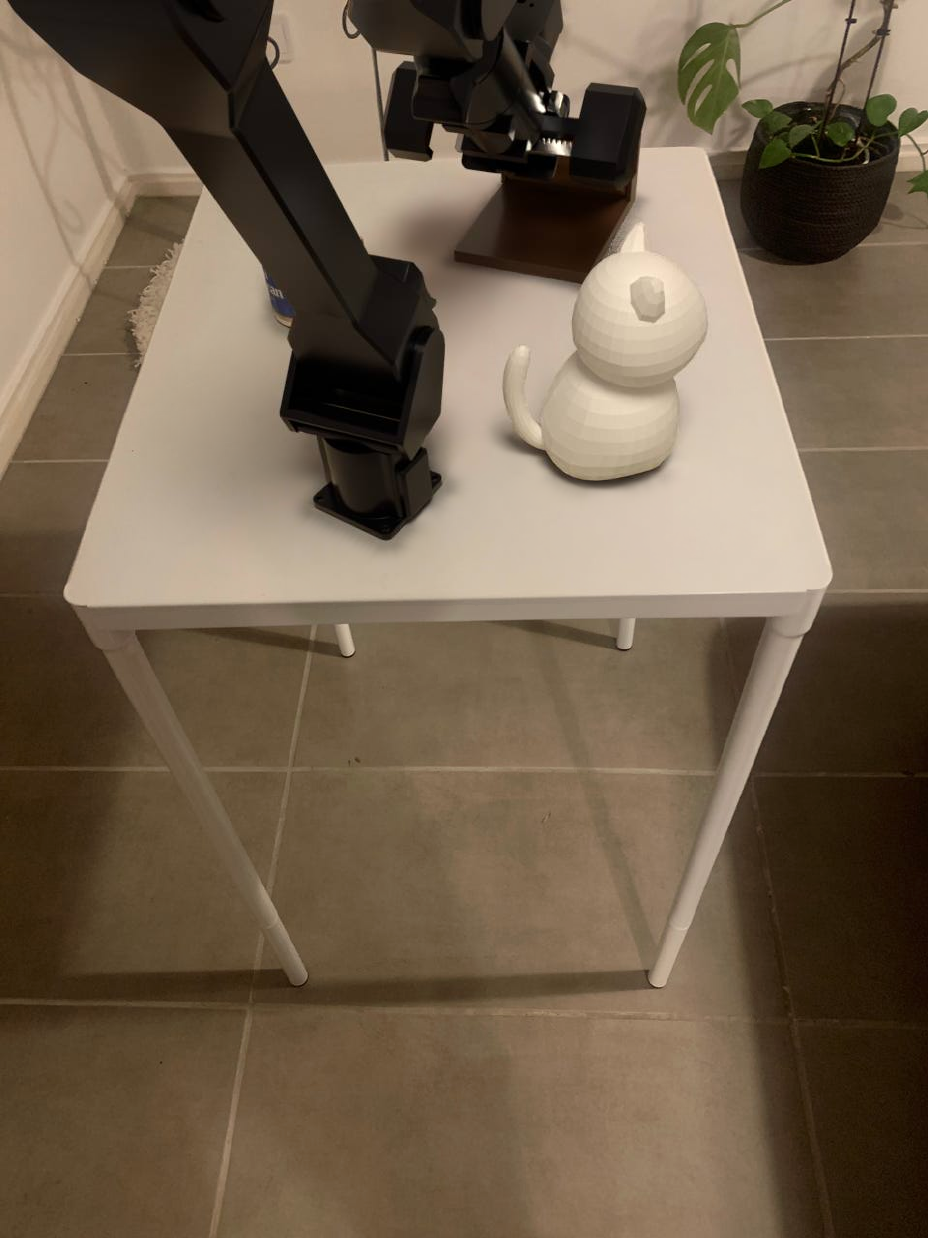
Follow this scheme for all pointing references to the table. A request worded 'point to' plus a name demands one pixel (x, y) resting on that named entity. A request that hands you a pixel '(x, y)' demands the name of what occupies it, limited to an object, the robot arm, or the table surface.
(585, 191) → the stand
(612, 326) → the cat figurine
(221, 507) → the table surface
